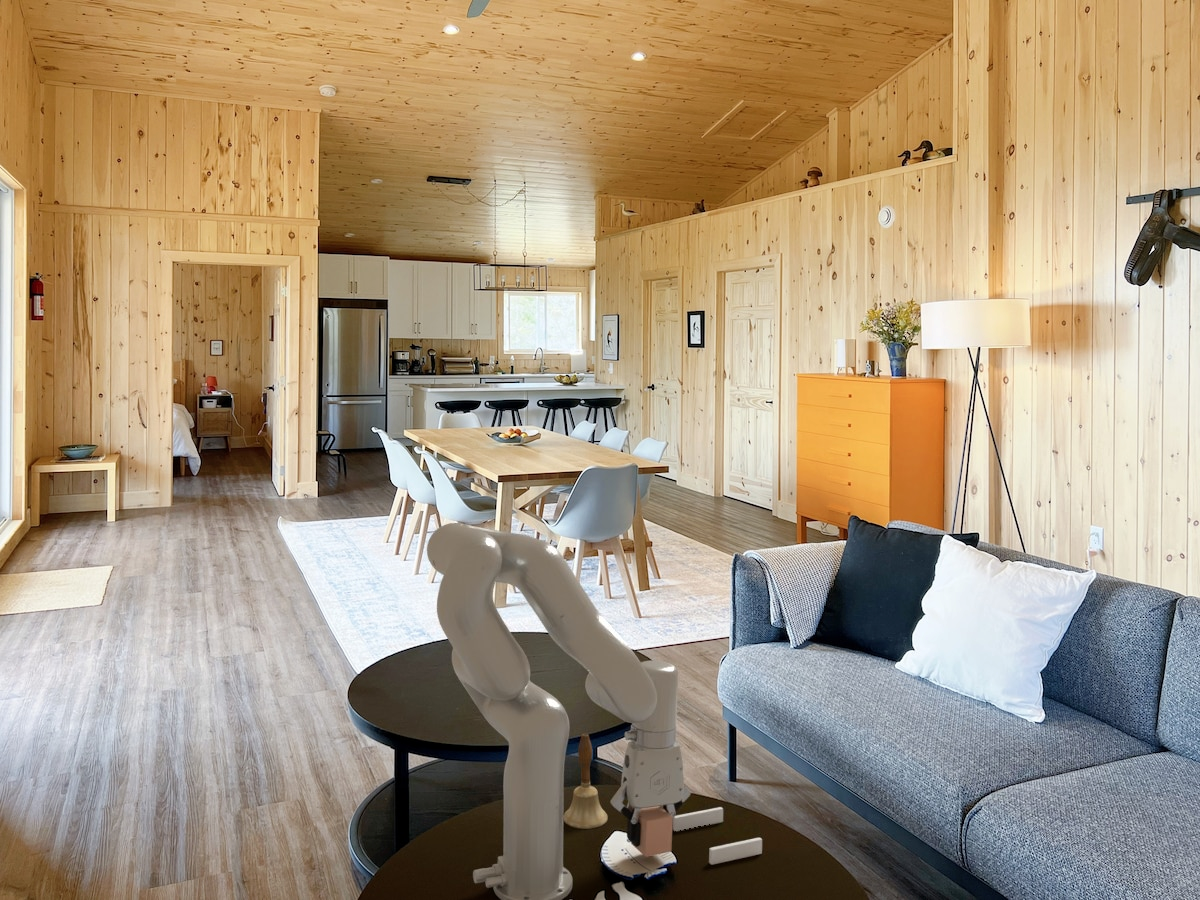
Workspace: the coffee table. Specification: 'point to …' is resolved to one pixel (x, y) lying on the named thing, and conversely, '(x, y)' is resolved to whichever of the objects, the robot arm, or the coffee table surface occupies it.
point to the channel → (723, 851)
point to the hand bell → (585, 794)
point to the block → (655, 831)
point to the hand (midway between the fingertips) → (649, 839)
